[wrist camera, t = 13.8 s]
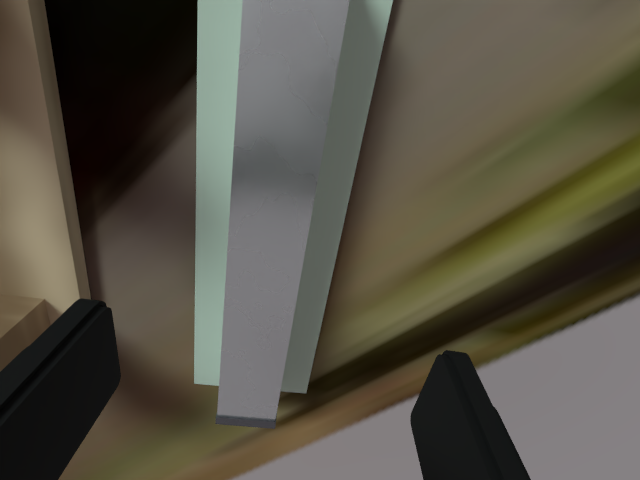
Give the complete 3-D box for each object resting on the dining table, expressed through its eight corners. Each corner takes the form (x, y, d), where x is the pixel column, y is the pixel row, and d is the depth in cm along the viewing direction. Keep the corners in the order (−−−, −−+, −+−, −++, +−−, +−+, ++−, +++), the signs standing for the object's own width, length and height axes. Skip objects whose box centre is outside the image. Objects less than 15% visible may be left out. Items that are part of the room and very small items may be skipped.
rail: (260, -57, 13) (245, -94, 10) (350, -36, 14) (362, -66, 11) (227, 376, 24) (215, 423, 21) (278, 380, 24) (274, 428, 21)
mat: (401, -50, 14) (405, -55, 14) (306, 386, 26) (306, 393, 25) (203, -97, 13) (198, -103, 13) (196, 376, 25) (194, 383, 24)
